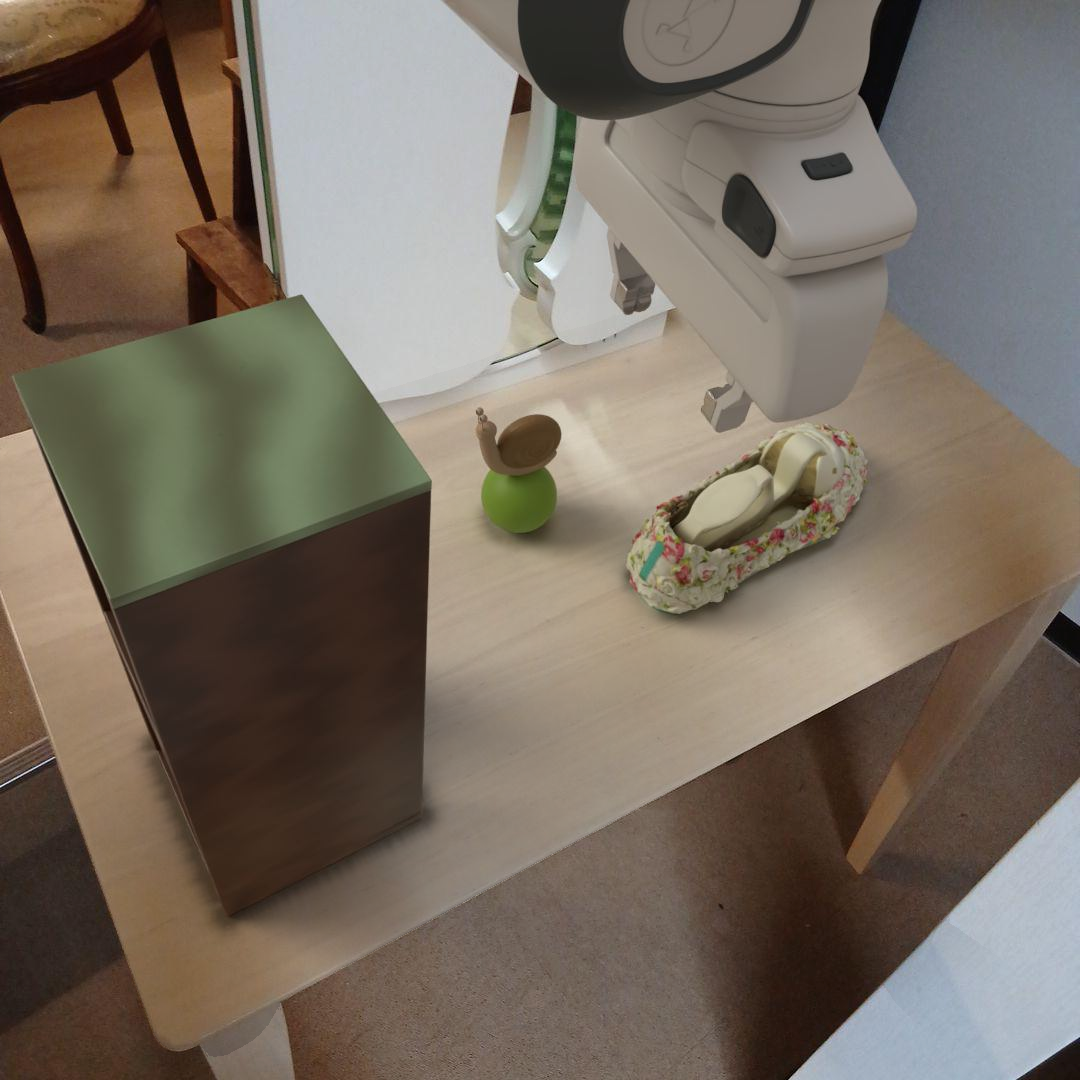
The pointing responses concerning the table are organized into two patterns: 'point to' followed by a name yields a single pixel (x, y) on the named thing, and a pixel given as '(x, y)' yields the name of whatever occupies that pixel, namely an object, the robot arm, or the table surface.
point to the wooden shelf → (253, 580)
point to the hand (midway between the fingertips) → (673, 360)
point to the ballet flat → (747, 517)
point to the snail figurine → (519, 471)
